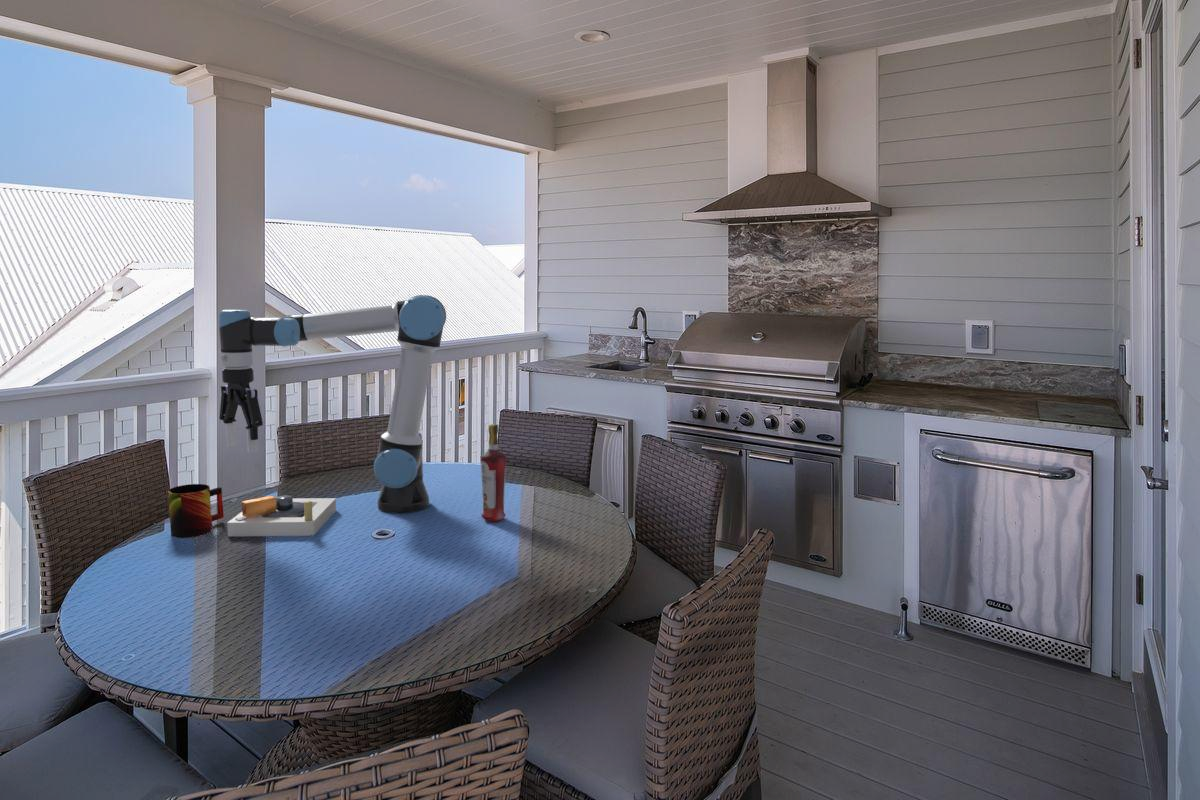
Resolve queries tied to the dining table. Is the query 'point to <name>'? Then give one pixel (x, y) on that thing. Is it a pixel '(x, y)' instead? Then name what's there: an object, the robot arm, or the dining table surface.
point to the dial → (273, 507)
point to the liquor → (493, 478)
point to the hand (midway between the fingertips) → (242, 448)
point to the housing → (286, 521)
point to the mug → (193, 510)
